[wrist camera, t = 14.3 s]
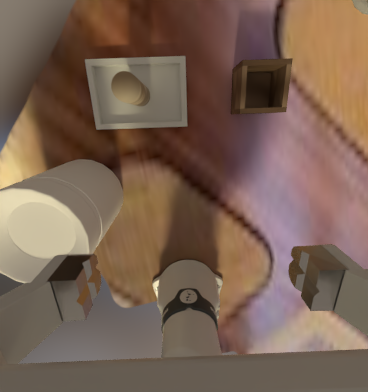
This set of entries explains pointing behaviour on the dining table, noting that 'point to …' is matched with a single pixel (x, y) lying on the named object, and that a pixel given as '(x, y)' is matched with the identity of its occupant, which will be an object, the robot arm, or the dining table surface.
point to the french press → (361, 5)
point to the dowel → (129, 89)
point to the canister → (56, 216)
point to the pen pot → (260, 86)
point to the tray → (153, 79)
